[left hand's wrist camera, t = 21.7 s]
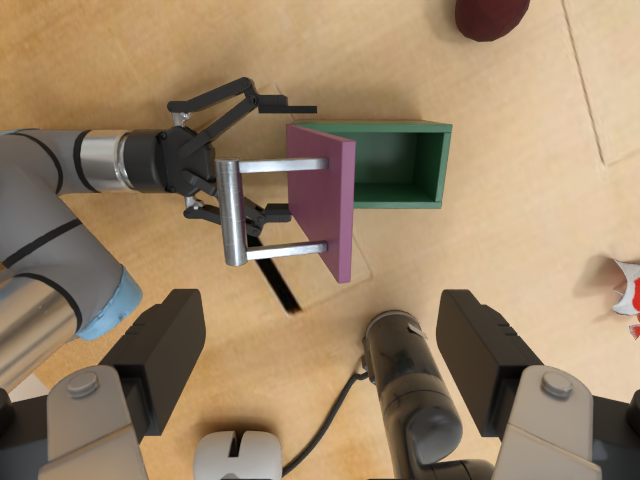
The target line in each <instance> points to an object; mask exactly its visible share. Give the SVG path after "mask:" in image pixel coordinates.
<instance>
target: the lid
mask: <svg viewBox="0 0 640 480" xmlns="http://www.w3.org/2000/svg"><path fill="white" fill-rule="evenodd" d="M286 138H287V158H282V159H255V160H240V159H239V158H236V157H222V158H217V159H215V161H214V162H215V171H216V180H217V189H218V198H219V207H220V217H221V226H222V235H223V244H224V253H225V262H226V264H227V265H229V266H241V265H244V264H246V263H247V262H248V260H256V259H265V258H274V257H283V256H292V255H302V254H311V253H318V254H319V255H320V257H321V258H322V260H323V261H324V263H325V264H326V266H327V267H328V269H329V270H330V272H331V273H332V275H333V276H334V278H335V279H336V281H337V282H338V283H346V282H350V276H351V251H352V226H353V201H354V176H355V151H356V141H355V140H351V139H347V138H343V137H339V136H336V135H332V134H328V133H324V132H320V131H317V130H313V129H309V128H305V127H302V126H298V125H294V124H287V125H286ZM275 171H288V201H289V211H290V212H291V214H292V215H293V217H294V218H295V220H296V221H297V222H298V224H299V225H300V227H301V228H302V230H303V231H304V233H305V234H306V236H307V237H308V239H309V240H310V242H300V243H290V244H280V245H270V246H260V247H250V248H247V237H246V224H245V212H244V200H243V188H242V176H241V173H254V172H275Z"/></svg>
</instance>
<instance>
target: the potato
mask: <svg viewBox="0 0 640 480" xmlns="http://www.w3.org/2000/svg"><path fill="white" fill-rule="evenodd" d="M529 3H530V0H457V2H456V9H455V19H456V24H457V27H458V29H459V31H460V32H461V33H462V34H463V35H464V36H465V37H467V38H470V39H472V40H475V41H477V42H486V41H494V40H496V39H498V38H500V37H503V36H505V35H506V34H508V33H509V32H510V31H511V30H512V29H513V28H515V27H516V26H517V25H518V24H519V22H520V21H521V19H522V18H523V16H524V14H525V13H526V11H527V10H528V7H529Z"/></svg>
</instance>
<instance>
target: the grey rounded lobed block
mask: <svg viewBox="0 0 640 480" xmlns="http://www.w3.org/2000/svg"><path fill="white" fill-rule="evenodd" d="M193 475H194V480H221V479H272V480H281V478H282V450H281V445H280V442H279V440H278V438H277V437H276V436H275V435H273V434H271V433H268V432H261V431H246V432H245V433H244V435H243V438H242V441H241V445H240V450H239V456H238V455H237V439H236V432H235V431H221V432H214V433H211V434H208V435H206V436H204V437H203V438H202V439H201V440H200V442H199V443H198V445H197V448H196V451H195V455H194V462H193Z"/></svg>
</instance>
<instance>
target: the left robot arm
mask: <svg viewBox="0 0 640 480" xmlns="http://www.w3.org/2000/svg"><path fill="white" fill-rule="evenodd" d="M205 338H206V328H205V321H204V314H203V307H202V301H201V294H200V292H199V290H198V289H173V290H172V291H171V292H170V294H169V295H168V296H167V297H166V299H165V300H164V301H163V302H162V304H155V305H154V306H152V307H151V308H149V309H148V310H146V311H144V312H143V313H142V314H141V315H140V316H139V317H138V318H137V319H136V321H135V322H134V323H133V326H130V328H129V329H128V330H127V331H126V332H125V335H123V336H122V337H121V338H120V339H119V341H118V342H117V343H116V344H115V345H114V346H113V348H112V349H111V350H110V351H109V352H108V353H107V355H106V356H105V357H104V358H103V359H102V360H101V362H100V363H99V364H98V365H96V366H90V367H86V368H83V369H80V370H78V371H75V372H73V373H71V374H70V375H68V376H66V377H65V378H63V379H62V380H60V381H59V382H58V383H57V384H56V385H55V386H54V387H53V388H52V389H51V391H50V392H49V394H48V395H44V396H40V397H36V398H31V399H27V400H23V401H18V402H13V403H11V400H10V398H9V396H8V394H7V391H6V390H5V389H3V388H0V480H149V479H148V475H147V472H146V468H145V465H144V461H143V458H142V454H141V451H140V447H139V445H140V443H141V441H142V439H143V437H144V436H161V434H162V432H163V430H164V428H165V426H166V424H167V422H168V420H169V418H170V416H171V414H172V412H173V410H174V407H175V405H176V403H177V401H178V399H179V397H180V395H181V393H182V391H183V389H184V387H185V385H186V382H187V380H188V378H189V376H190V374H191V372H192V370H193V368H194V366H195V364H196V362H197V360H198V358H199V355H200V353H201V351H202V349H203V347H204V343H205ZM425 338H426V339H427V336H426V334H425V333H423V332H422V331H421V328H420V325H419V323H418V322H417V320H416V319H415V318H414V317H413V316H412V315H410V314H408V313H406V312H403V311H388V312H384V313H382V314H380V315H378V316H376V317H375V318H374V319H373V320H372V321H371V322H370V323H369V325H368V327H367V330H366V337H365V338H364V339H363V340H362V341H363V347H364V353H365V354H364V355H363V356H362V357H361V360H362V366H363V369H365V370H366V371H367V372H365V373H363V374H361V375H360V374H355V375H353V376H352V377H351V378H350V380H349V381H348V383H347V384H346V386H345V388H344V389H343V391H342V393H341V395H340V397H339V399H338V401H337V403H336V404H335V406H334V408H333V410H332V411H331V413H330V415H329V417H328V419H327V421H326V423H325V424H324V426H323V428H322V429H321V431H320V432H319V434H318V435H317V436H316V438H315V439H314V441H313V442H312V443H311V444H310V446H309V447H308V448H307V449H306V450H305V451H304V452H303V453H302V454H301V455H300V456H299V457H298V458H297V459H296V460H295V461H294V462H293V463H292V464H291V465H290V466H289V467H287V468H286V469H285V470H284V471H282V477H284V476H285V475H286V474H288V473H289V472H290V471H291V470H293V469H294V468H295V467H296V466H297V465H298V464H299V463H300V462H301V461H302V460H303V459H304V458H305V457H306V456H307V455H308V454H309V453H310V452H311V451H312V450H313V448H314V447H315V446H316V445H317V443H318V442H319V441H320V439H321V438H322V436H323V435H324V434H325V432H326V430H327V429H328V427H329V425H330V424H331V422H332V420H333V418H334V416H335V414H336V413H337V411H338V409H339V408H340V406H341V404H342V402H343V400H344V399H345V397H346V395H347V393H348V391H349V389H350V388H351V386H352V384H353V383H354V382H355V381H356V380H357V379H358V380H364V379H366V378H368V377H369V380H370V381H371V383H373V384H374V385H376V387H377V392H378V397H379V402H380V406H381V411H382V416H383V421H384V427H385V432H386V436H387V440H388V445H389V449H390V454H391V459H392V464H393V470H394V477H395V479H368V480H640V389H639V390H637V391H636V392H635V393H634V396H633V398H632V400H631V402H630V404H629V403H624V402H620V401H615V400H611V399H606V398H602V397H598V396H594V395H592V394H591V392H590V391H589V389H588V388H587V387H586V386H585V385H584V384H583V383H582V382H581V381H580V380H578V379H577V378H575V377H574V376H572V375H570V374H569V373H567V372H565V371H562V370H560V369H557V368H554V367H550V366H545V365H544V364H543V363H542V362H541V360H540V359H539V358H538V357H537V356H536V355H535V353H534V352H533V351H532V350H531V349H530V348H529V347H528V345H527V344H526V343H525V342H524V341H523V340H522V338H521V337H520V336H517V333H516V331H515V330H514V329H513V328H512V327H510V325H509V323H508V322H507V321H506V320H505V319H504V318H503V316H502V315H501V314H500V313H498V312H497V311H495V310H494V309H492V308H490V307H489V306H487V305H481V304H480V303H479V302H478V300H477V299H476V298H475V297H474V295H473V294H472V293H471V292H470V291H469V290H467V289H445V290H443V292H442V294H441V300H440V307H439V313H438V320H437V327H436V340H437V345H438V348H439V350H440V352H441V354H442V357H443V359H444V361H445V363H446V365H447V367H448V369H449V371H450V373H451V375H452V377H453V379H454V381H455V383H456V385H457V387H458V389H459V391H460V393H461V396H462V398H463V400H464V402H465V404H466V406H467V408H468V410H469V412H470V414H471V416H472V418H473V420H474V422H475V424H476V426H477V428H478V430H479V433H480V435H481V437H499V439H500V441H501V443H502V444H501V447H500V451H499V454H498V458H497V461H496V465H495V466H494V465H493V464H491V463H490V462H488V461H486V460H481V459H465V460H459V461H458V460H456V461H447V462H439V461H440V460H442V459H444V458H445V457H447V456H448V455H449V454H451V453H452V452H453V451H454V450H455V449H456V448H457V446H458V445H459V443H460V441H461V438H462V434H463V427H462V422H461V419H460V416H459V414H458V412H457V409H456V407H455V405H454V403H453V401H452V399H451V396H450V394H449V392H448V390H447V387H446V385H445V383H444V381H443V379H442V376H441V374H440V372H439V370H438V367H437V365H436V363H435V361H434V358H433V356H432V354H431V352H430V349H429V347H428V345H427V343H426V340H425ZM427 340H428V339H427ZM437 462H439V463H437ZM221 480H272V479H221Z"/></svg>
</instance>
